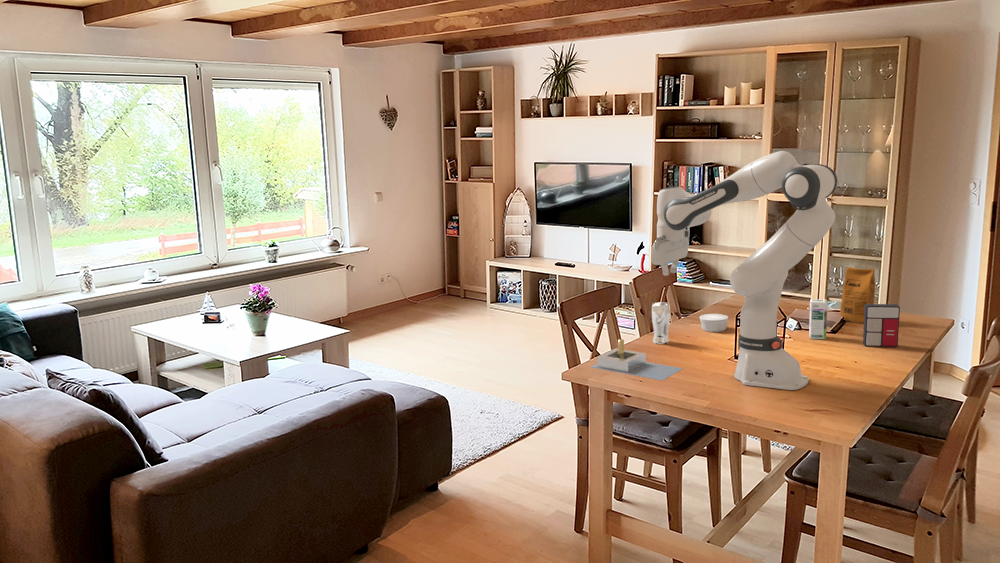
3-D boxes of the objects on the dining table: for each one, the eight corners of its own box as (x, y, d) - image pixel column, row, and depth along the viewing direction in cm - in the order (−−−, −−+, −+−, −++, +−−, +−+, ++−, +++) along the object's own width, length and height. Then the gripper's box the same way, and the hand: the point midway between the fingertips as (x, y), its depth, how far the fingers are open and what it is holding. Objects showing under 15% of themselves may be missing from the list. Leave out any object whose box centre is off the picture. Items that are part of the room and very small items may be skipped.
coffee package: (846, 315, 319) (848, 264, 315) (877, 320, 310) (879, 267, 306) (835, 320, 312) (838, 267, 308) (867, 325, 303) (869, 270, 299)
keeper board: (683, 372, 253) (683, 368, 253) (661, 385, 242) (661, 380, 242) (613, 360, 270) (613, 356, 270) (590, 371, 259) (590, 366, 259)
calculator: (865, 346, 274) (867, 306, 271) (862, 343, 278) (864, 303, 275) (898, 347, 271) (900, 306, 268) (895, 344, 275) (897, 304, 273)
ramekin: (698, 332, 303) (699, 319, 302) (700, 325, 313) (700, 313, 312) (728, 333, 300) (728, 320, 299) (728, 326, 310) (728, 313, 309)
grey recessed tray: (645, 363, 260) (645, 353, 259) (628, 372, 251) (628, 362, 250) (615, 358, 268) (615, 348, 267) (597, 366, 258) (597, 356, 258)
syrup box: (809, 339, 287) (811, 301, 284) (808, 335, 292) (810, 298, 289) (826, 339, 285) (827, 302, 282) (824, 335, 290) (826, 298, 288)
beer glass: (670, 344, 287) (670, 306, 284) (651, 344, 288) (651, 305, 286) (669, 339, 294) (670, 302, 291) (651, 339, 295) (651, 301, 292)
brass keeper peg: (629, 364, 259) (629, 339, 257) (623, 367, 256) (623, 342, 254) (619, 363, 262) (618, 337, 260) (613, 366, 259) (612, 340, 257)
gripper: (663, 238, 249) (663, 279, 251) (691, 231, 264) (691, 270, 267) (646, 237, 253) (646, 278, 255) (675, 230, 268) (674, 268, 271)
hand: (669, 273), depth 261 cm, fingers open, 4 cm apart
